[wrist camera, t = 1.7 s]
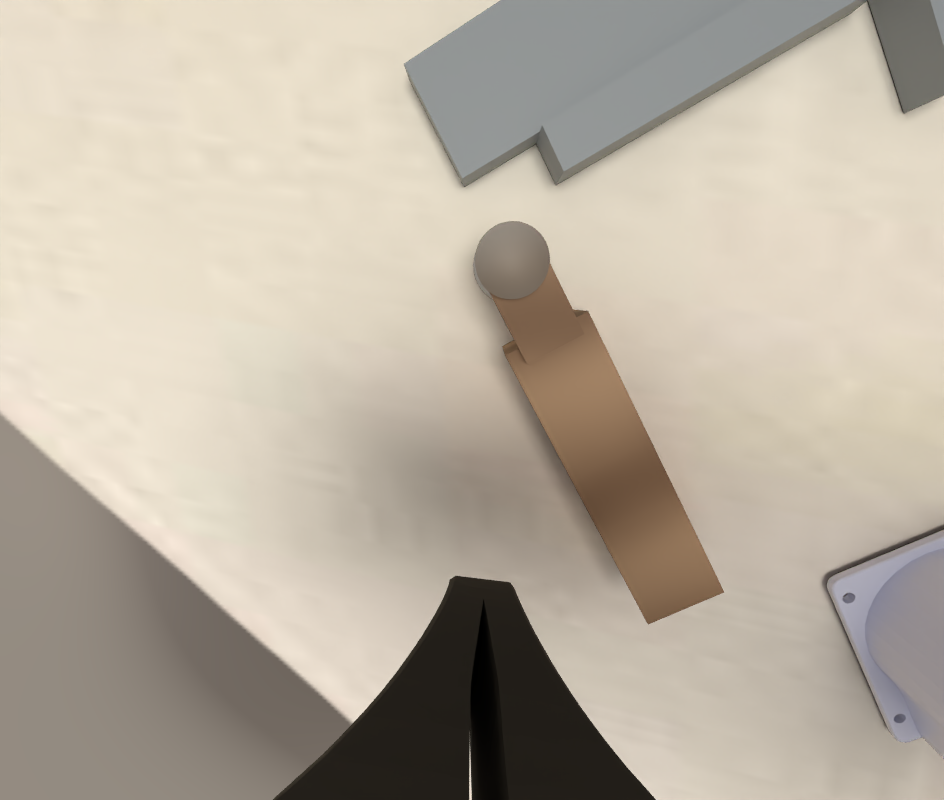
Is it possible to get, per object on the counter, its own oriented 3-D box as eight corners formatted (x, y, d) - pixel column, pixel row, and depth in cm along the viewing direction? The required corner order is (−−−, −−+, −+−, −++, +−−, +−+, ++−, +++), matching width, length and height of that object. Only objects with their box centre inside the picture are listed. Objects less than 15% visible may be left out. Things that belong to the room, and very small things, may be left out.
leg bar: (458, 263, 17) (449, 252, 13) (528, 222, 17) (541, 199, 13) (624, 576, 20) (657, 644, 16) (688, 547, 19) (739, 610, 15)
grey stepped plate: (939, 94, 15) (1019, 57, 13) (503, 331, 18) (505, 335, 15) (848, -204, 14) (922, -307, 11) (381, 99, 16) (363, 66, 14)
